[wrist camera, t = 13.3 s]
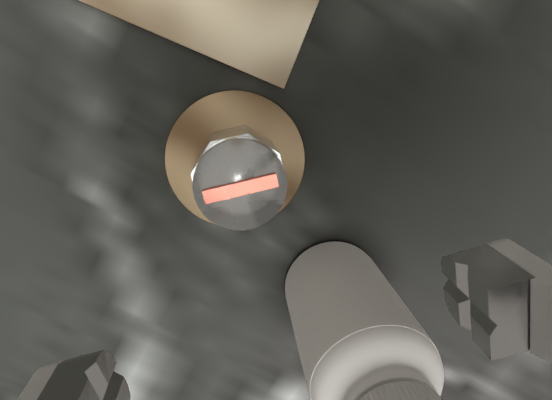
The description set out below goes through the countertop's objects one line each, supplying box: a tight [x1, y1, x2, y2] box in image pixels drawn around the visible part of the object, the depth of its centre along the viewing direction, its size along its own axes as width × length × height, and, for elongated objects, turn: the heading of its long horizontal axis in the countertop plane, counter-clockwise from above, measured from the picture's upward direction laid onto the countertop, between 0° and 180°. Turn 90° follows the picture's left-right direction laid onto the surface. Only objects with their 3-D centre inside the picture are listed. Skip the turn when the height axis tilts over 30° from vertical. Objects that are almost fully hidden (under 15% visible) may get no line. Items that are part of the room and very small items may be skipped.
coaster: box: [165, 90, 305, 224], centre depth 27 cm, size 10×10×1 cm
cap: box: [191, 125, 287, 231], centre depth 24 cm, size 6×6×6 cm
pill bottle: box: [285, 242, 444, 400], centre depth 25 cm, size 8×8×15 cm
